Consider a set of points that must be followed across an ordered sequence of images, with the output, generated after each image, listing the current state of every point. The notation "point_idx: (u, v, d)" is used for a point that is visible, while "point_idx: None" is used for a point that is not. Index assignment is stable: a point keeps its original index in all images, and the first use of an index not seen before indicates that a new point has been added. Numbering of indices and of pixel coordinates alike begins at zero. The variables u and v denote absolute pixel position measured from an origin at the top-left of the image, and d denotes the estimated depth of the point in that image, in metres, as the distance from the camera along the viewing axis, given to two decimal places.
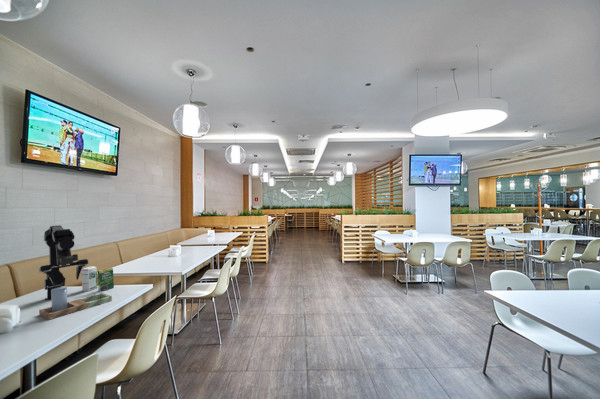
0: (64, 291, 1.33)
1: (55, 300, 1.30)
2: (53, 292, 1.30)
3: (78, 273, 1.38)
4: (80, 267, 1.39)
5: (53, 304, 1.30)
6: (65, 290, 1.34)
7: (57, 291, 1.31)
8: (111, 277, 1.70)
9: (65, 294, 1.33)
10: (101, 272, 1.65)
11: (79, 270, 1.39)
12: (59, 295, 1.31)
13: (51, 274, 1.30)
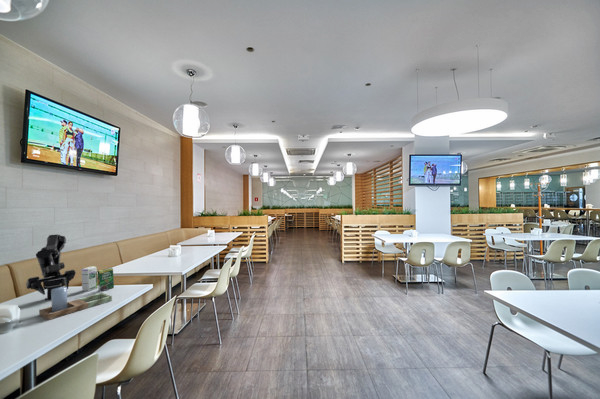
0: (64, 291, 1.33)
1: (55, 300, 1.30)
2: (53, 292, 1.30)
3: (67, 282, 1.40)
4: (68, 276, 1.41)
5: (53, 304, 1.30)
6: (65, 290, 1.34)
7: (57, 291, 1.31)
8: (111, 277, 1.70)
9: (65, 294, 1.33)
10: (101, 272, 1.65)
11: (68, 279, 1.41)
12: (59, 295, 1.31)
13: (40, 284, 1.32)
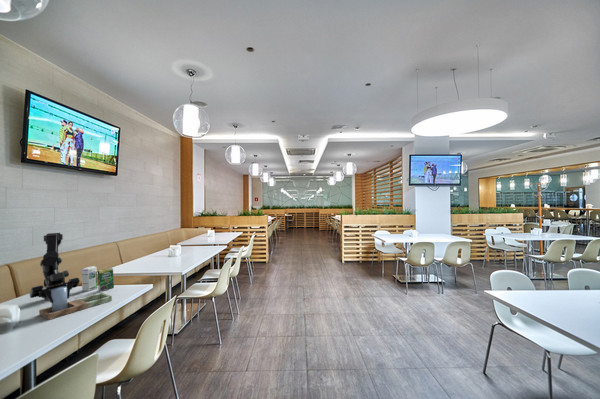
0: (64, 291, 1.33)
1: (55, 300, 1.30)
2: (53, 292, 1.30)
3: (68, 291, 1.36)
4: (69, 285, 1.38)
5: (53, 304, 1.30)
6: (65, 290, 1.34)
7: (57, 291, 1.31)
8: (111, 277, 1.70)
9: (65, 294, 1.33)
10: (101, 272, 1.65)
11: (68, 289, 1.37)
12: (59, 295, 1.31)
13: (48, 293, 1.30)
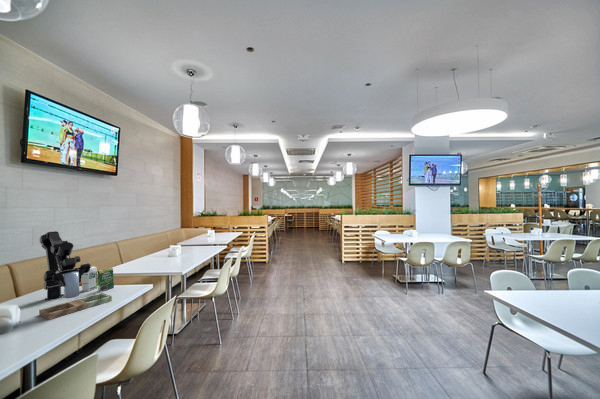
0: (76, 275, 1.37)
1: (67, 284, 1.35)
2: (66, 276, 1.35)
3: (80, 276, 1.41)
4: (80, 270, 1.42)
5: (65, 288, 1.35)
6: (77, 275, 1.38)
7: (69, 275, 1.35)
8: (111, 277, 1.70)
9: (77, 278, 1.38)
10: (101, 272, 1.65)
11: (80, 273, 1.42)
12: (72, 279, 1.36)
13: (60, 277, 1.35)
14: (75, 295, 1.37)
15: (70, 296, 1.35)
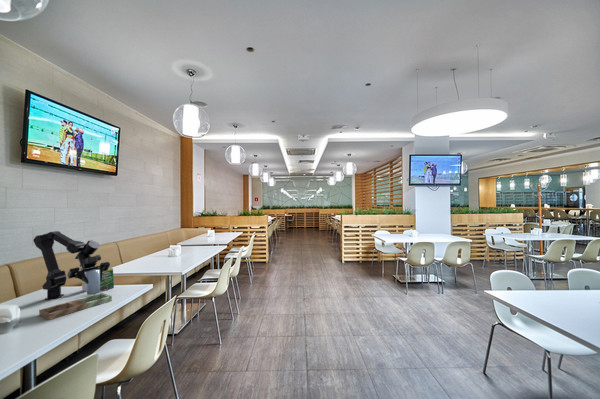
0: (98, 273, 1.46)
1: (90, 280, 1.43)
2: (88, 273, 1.43)
3: (100, 274, 1.49)
4: (101, 268, 1.51)
5: (88, 284, 1.43)
6: (98, 272, 1.46)
7: (92, 273, 1.43)
8: (111, 277, 1.70)
9: (98, 276, 1.46)
10: None
11: (101, 271, 1.50)
12: (94, 276, 1.44)
13: (83, 274, 1.43)
14: (97, 291, 1.45)
15: (92, 292, 1.43)
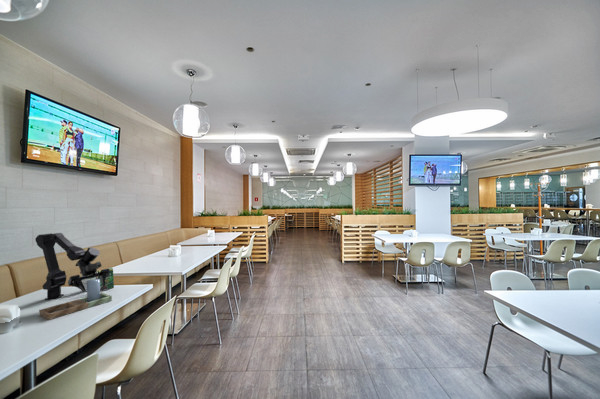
0: (98, 283, 1.46)
1: (90, 290, 1.43)
2: (88, 283, 1.43)
3: (104, 280, 1.50)
4: (104, 274, 1.52)
5: (88, 294, 1.43)
6: (99, 282, 1.46)
7: (92, 283, 1.43)
8: (111, 277, 1.70)
9: (99, 285, 1.46)
10: None
11: (104, 277, 1.51)
12: (94, 286, 1.44)
13: (80, 282, 1.42)
14: None
15: None
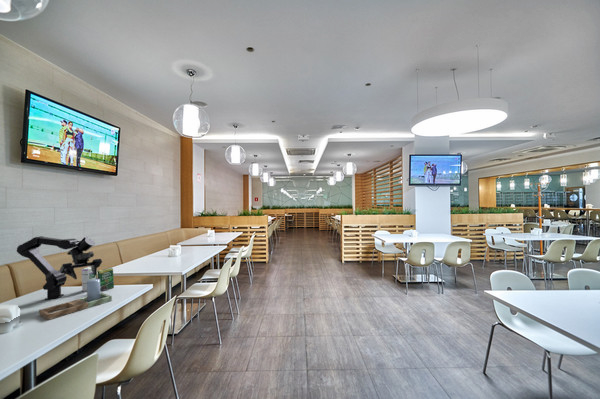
0: (98, 283, 1.46)
1: (90, 290, 1.43)
2: (88, 283, 1.43)
3: (95, 269, 1.55)
4: (96, 264, 1.56)
5: (88, 294, 1.43)
6: (99, 282, 1.46)
7: (92, 283, 1.43)
8: (111, 277, 1.70)
9: (99, 285, 1.46)
10: (101, 272, 1.65)
11: (95, 267, 1.56)
12: (94, 286, 1.44)
13: (72, 270, 1.46)
14: None
15: None
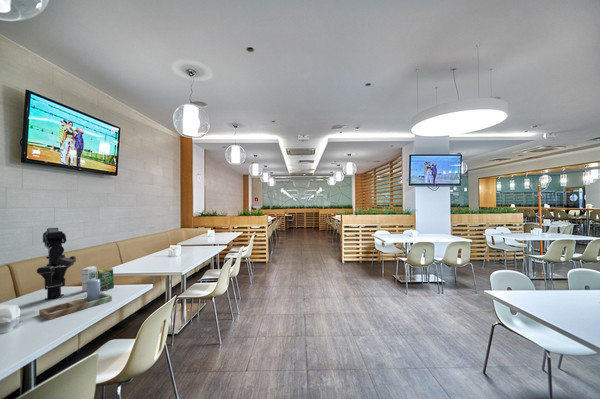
0: (98, 283, 1.46)
1: (90, 290, 1.43)
2: (88, 283, 1.43)
3: (64, 273, 1.49)
4: (67, 267, 1.50)
5: (88, 294, 1.43)
6: (99, 282, 1.46)
7: (92, 283, 1.43)
8: (111, 277, 1.70)
9: (99, 285, 1.46)
10: (101, 272, 1.65)
11: (65, 270, 1.50)
12: (94, 286, 1.44)
13: (51, 275, 1.39)
14: None
15: None
